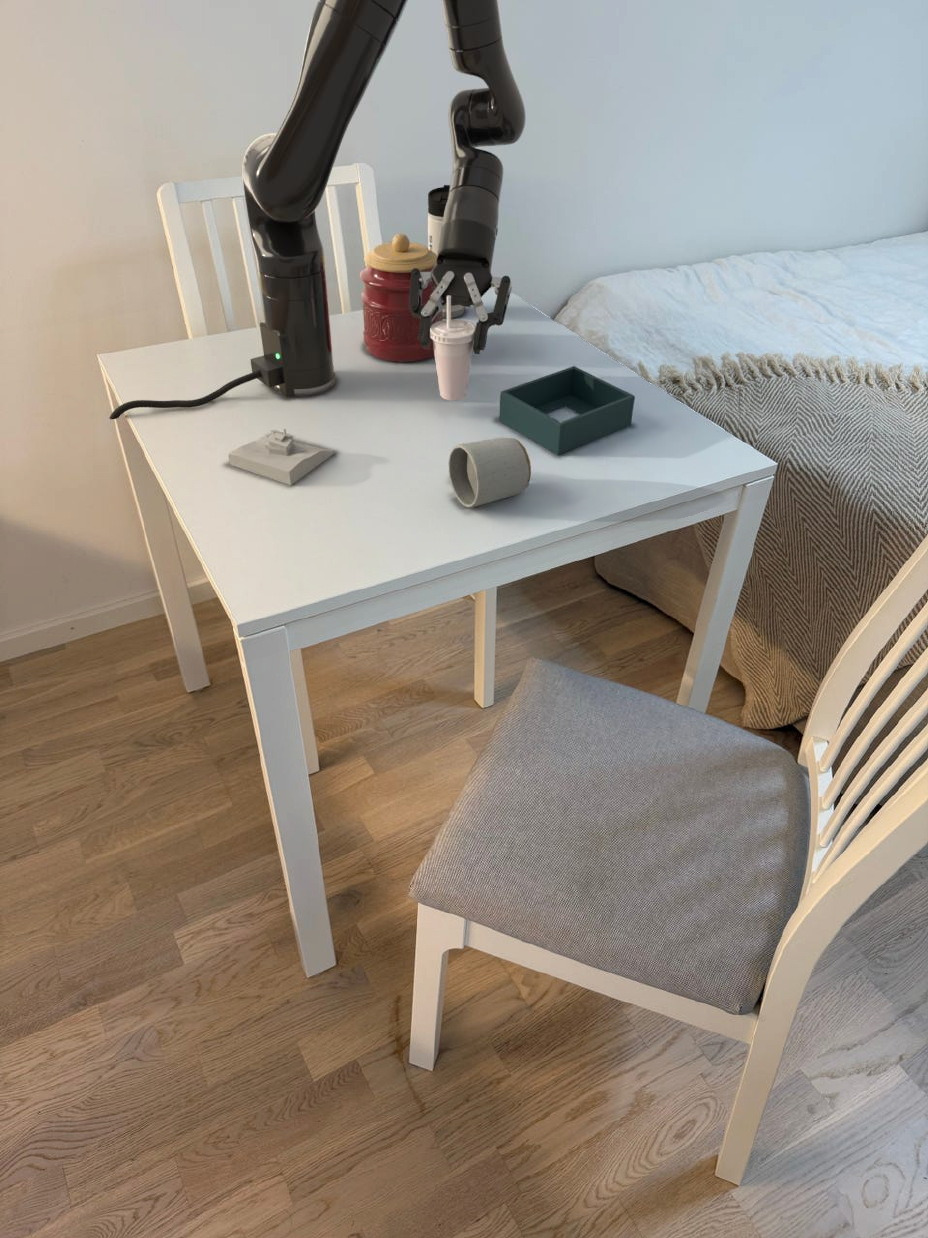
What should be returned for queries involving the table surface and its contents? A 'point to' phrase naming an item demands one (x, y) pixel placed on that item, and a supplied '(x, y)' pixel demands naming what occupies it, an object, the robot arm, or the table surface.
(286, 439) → the miniature house
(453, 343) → the smoothie
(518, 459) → the ceramic mug
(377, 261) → the kitchen canister
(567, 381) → the bin
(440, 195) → the travel mug
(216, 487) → the table surface
